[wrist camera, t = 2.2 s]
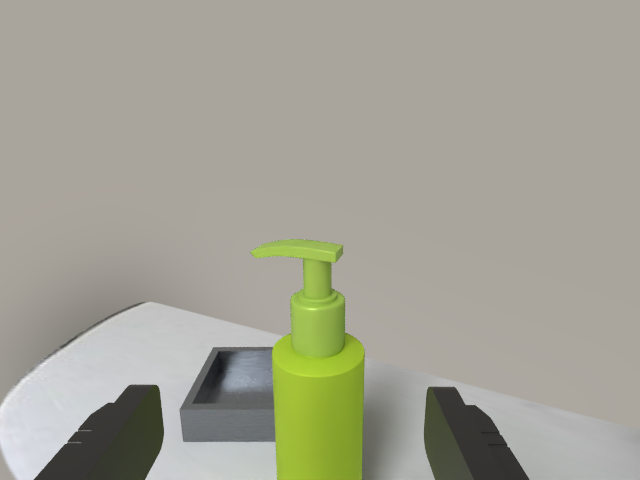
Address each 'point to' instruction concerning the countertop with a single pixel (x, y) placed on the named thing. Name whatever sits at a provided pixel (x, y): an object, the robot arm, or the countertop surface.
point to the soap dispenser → (317, 374)
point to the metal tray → (231, 397)
